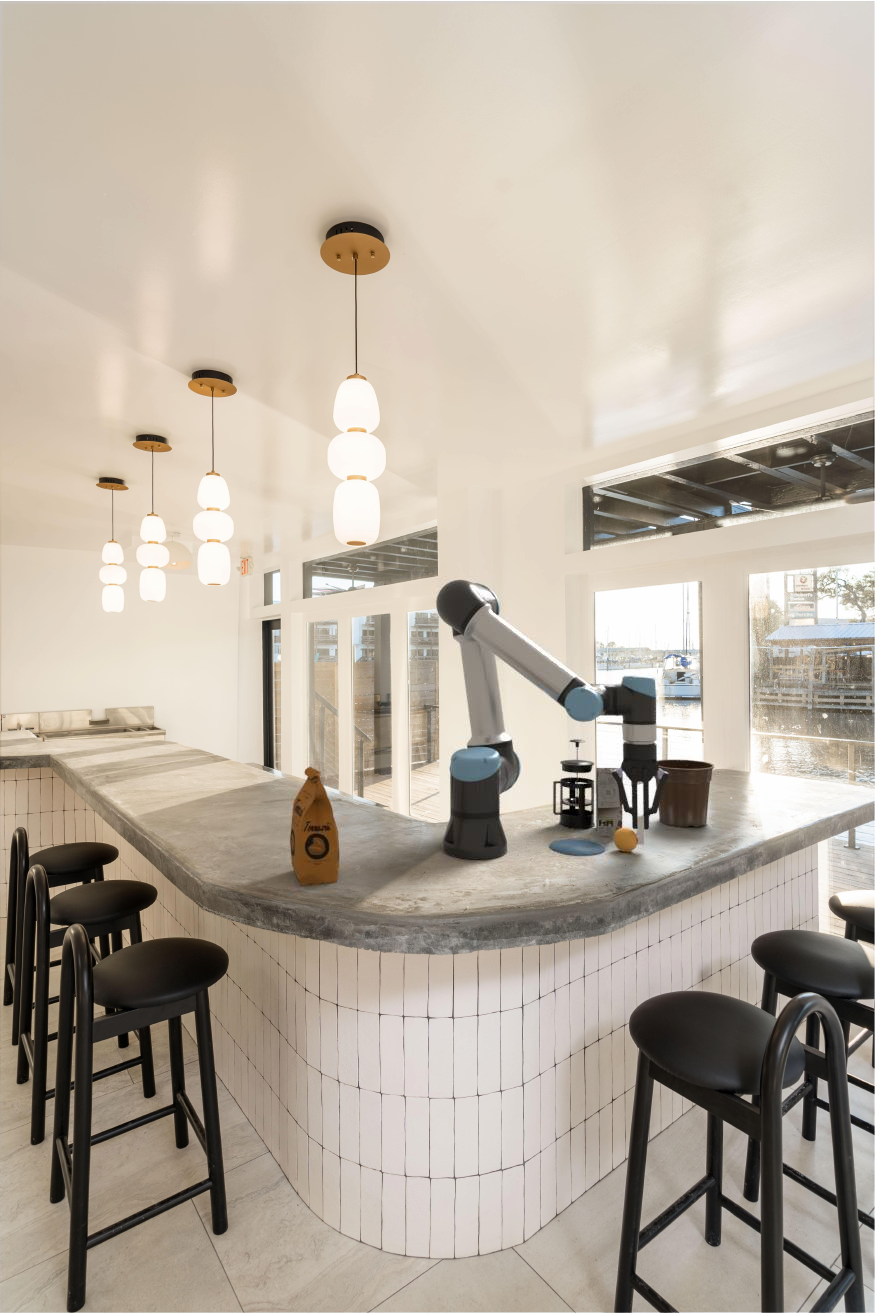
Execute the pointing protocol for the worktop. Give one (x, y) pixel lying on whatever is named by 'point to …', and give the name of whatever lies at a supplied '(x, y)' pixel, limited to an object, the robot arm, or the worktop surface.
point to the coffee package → (314, 834)
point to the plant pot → (684, 792)
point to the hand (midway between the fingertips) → (640, 842)
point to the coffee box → (607, 803)
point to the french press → (575, 794)
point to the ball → (625, 839)
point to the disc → (577, 847)
